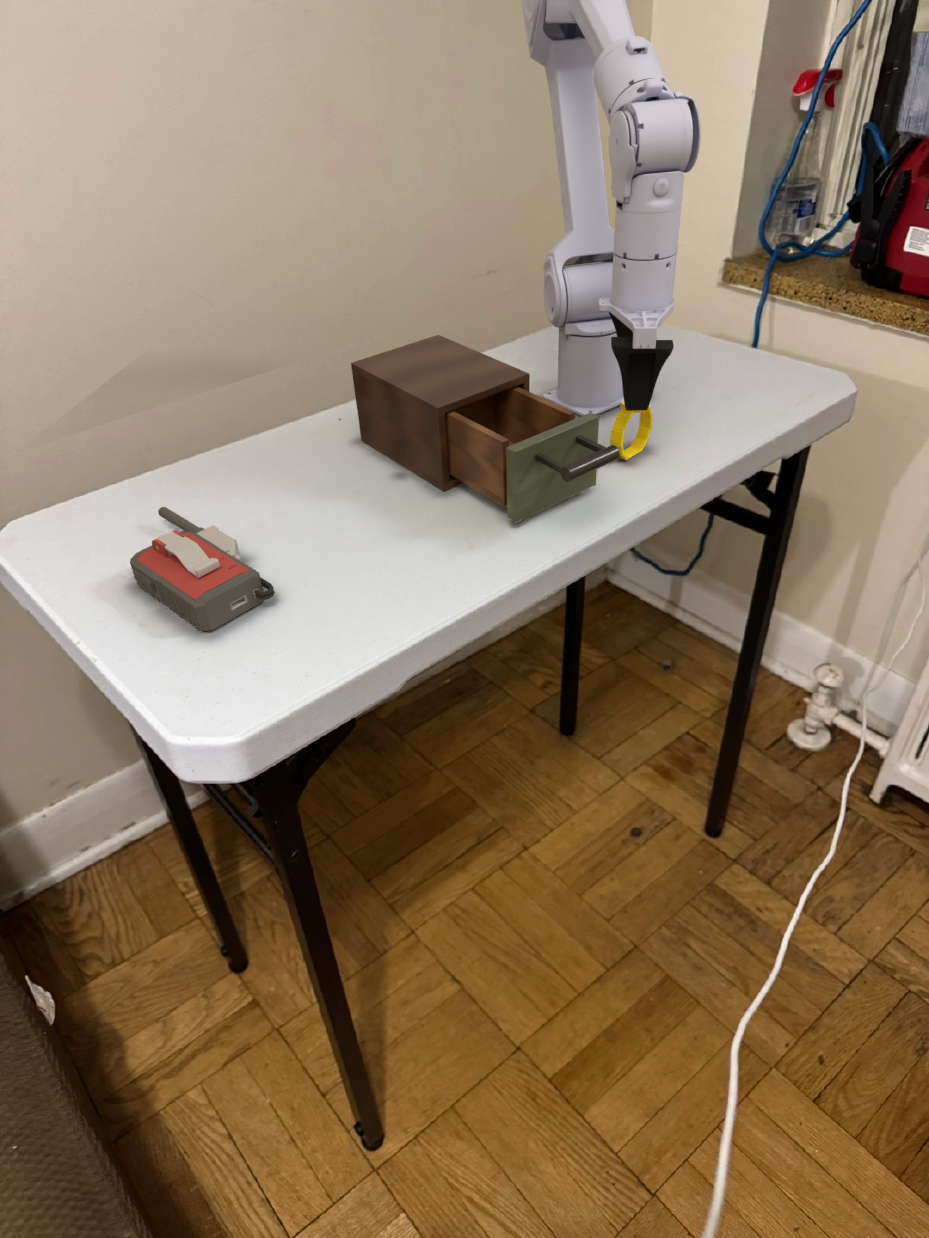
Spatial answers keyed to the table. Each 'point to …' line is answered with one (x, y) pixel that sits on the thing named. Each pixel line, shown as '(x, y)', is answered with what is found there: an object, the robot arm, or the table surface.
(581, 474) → the drawer
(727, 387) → the table surface
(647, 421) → the watch
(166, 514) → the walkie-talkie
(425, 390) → the cabinet
